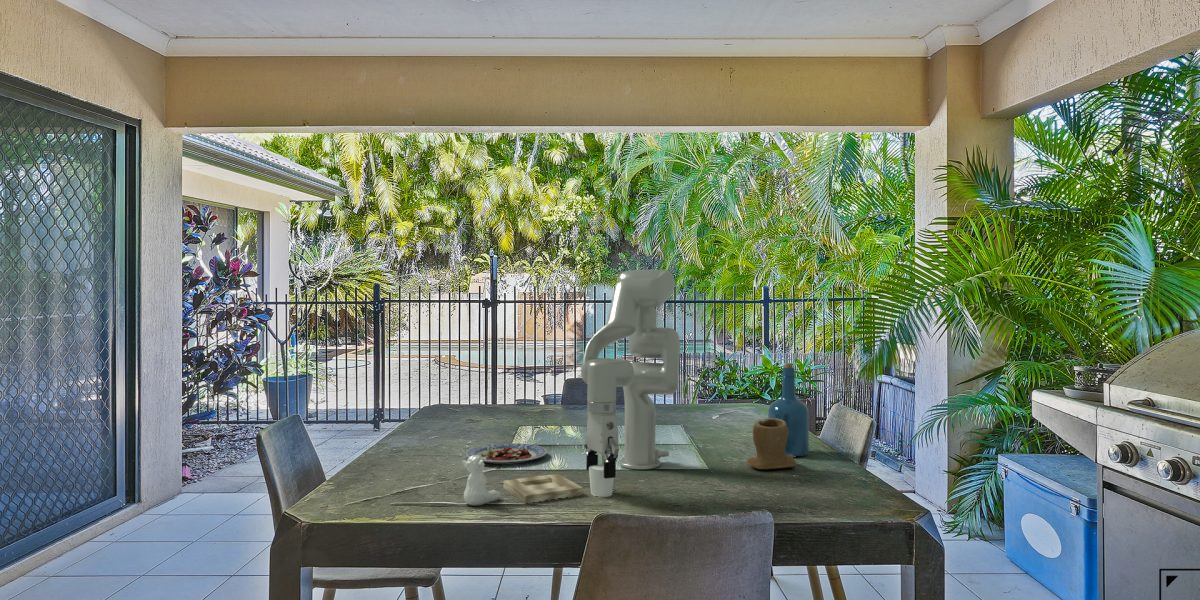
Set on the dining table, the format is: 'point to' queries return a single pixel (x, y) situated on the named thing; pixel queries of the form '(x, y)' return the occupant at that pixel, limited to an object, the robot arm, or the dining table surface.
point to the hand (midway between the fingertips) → (600, 473)
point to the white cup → (600, 482)
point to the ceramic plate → (507, 453)
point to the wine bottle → (792, 414)
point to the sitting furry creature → (477, 483)
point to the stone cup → (771, 445)
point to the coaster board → (542, 488)
